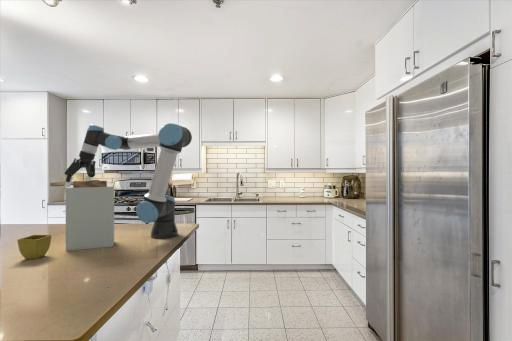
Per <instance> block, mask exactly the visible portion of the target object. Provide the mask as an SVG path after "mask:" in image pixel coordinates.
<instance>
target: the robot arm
mask: <svg viewBox="0 0 512 341" xmlns="http://www.w3.org/2000/svg"><path fill="white" fill-rule="evenodd" d="M104 130H105V129H104V127H102V126H99V125H96V124H92V123H91V124H89V126H88V128H87V130H86V133H85V135H84V136H85V137H84V141H83V143H82V146H81V150H79V153H78V154H79V155H78V157H79V158H73V161H72V163H71V164H70V165H69V167H68V168H67V169H66V170H65V171H64V175H66V178H65V183H64V188H65V189H66V188H67V187H71V184H72V183H73V179H74V175H75V174H76V173H77V172H78V171H79V170H81V169H85V170H86V176H85V179H84V181H90V180H91V179H92V178H95V176H96V162H97V161H95V157H96V154H97V151H98V149H99V145H100V146H102V147H105V148H108V149H109V150H113V151H117V150H124V151H125V150H126V151H127V150H128V151H129V150H132V149H143V148H144V149H145V148H155V147H156V148H158V147H159V148H160V152H159V155H158V159H157V163H156V165H155V170H154V173H153V175H152V179H151V183H150V186H149V190H148V192H147V193H145V194H144V195H143V200H142V201H141V202H140V203H138V204H137V206H136V208H135V209H136V210H135V212H136V216H137V217H138V219H139V220H140V221H141V222H142V223H145V224H146V223H147V224H151V223H153V225H152V228H151V231H150V237H151V238H154V239H169V238H173V237H176V236H178V235H179V232H178V231H179V230H178V228H177V224H176V222H175V221H176V220H175V219H176V216H175V215H176V214H175V213H176V212H175V211H176V209H175V208H176V205H175V204H176V201H175V197H174V196H170V195H169V196H168V195H167V196H166V193H167V191H168V190H167V189H168V186H169V184H170V181H171V180H170V179H171V177H172V174H173V169H174V166H175V163H176V160H177V157H178V154H180V153H182V151H183V148H186V147H188V146H190V144H191V142H192V140H193V139H192V138H193V136H192V132H191V131H190V130H189V129H188V128H187V127H184V126H182V125H179V124H177V123H166V124H164V125H163V126H161V128H160V129H159V131H158V133H153V134H152V133H151V134H149V133H148V134H140V135H129V136H128V135H127V136H120V135H116V134H110V133H108V132H105V131H104Z"/></svg>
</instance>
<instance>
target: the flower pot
mask: <svg viewBox="0 0 512 341" xmlns="http://www.w3.org/2000/svg"><path fill="white" fill-rule="evenodd" d="M16 240H17V246H18V250H19V252H20V254H21V256H22V257H23V258H24V259H25V260H26V259H29V260H31V259H33V260H36V259H39V258H41V257H44V256H45V255H46V254H47V253H48V251H49V250H50V247H51V242H52V234H32V235H29V236H25V237H21V238H19V239H16Z"/></svg>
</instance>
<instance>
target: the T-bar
mask: <svg viewBox="0 0 512 341" xmlns="http://www.w3.org/2000/svg"><path fill="white" fill-rule="evenodd" d="M72 184H73V186H72V187H73V188H80V187H107V186H108V181H107V180H100V179H92V180H90V181H85V180H75V181H73V180H72Z"/></svg>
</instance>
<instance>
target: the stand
mask: <svg viewBox="0 0 512 341" xmlns="http://www.w3.org/2000/svg"><path fill="white" fill-rule="evenodd" d="M114 244H115V185H107V187H80V188H73V186H70V187H67V188H66V187H65V252H68V251H77V250H88V249H89V250H90V249H100V248H111V247H113V246H114Z"/></svg>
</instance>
